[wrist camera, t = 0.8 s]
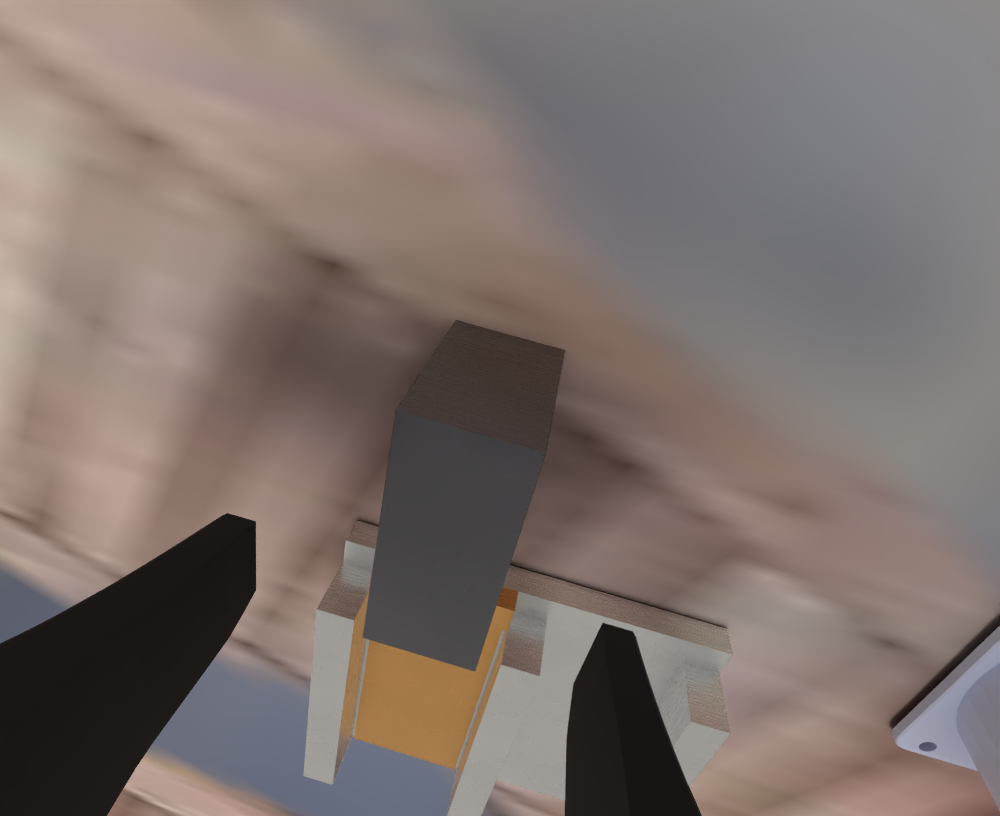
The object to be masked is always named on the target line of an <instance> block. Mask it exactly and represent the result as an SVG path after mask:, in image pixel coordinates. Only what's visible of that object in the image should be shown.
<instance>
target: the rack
mask: <svg viewBox="0 0 1000 816" xmlns="http://www.w3.org/2000/svg"><path fill="white" fill-rule="evenodd" d="M378 528H379V526H375V525H372V524H368V523H365V522H362V521H358V520H357V522H356V524H355V526H354V527H353V529H352V531H351V532H350V534H349V536H348V537H347V539H346V542H345V552H344V561H343V564H342V565H341V567H340V569H339V571H338V572H337V574H336V576H335V578H334V579H333V581H332V583H331V585H330V586H329V588H328V590H327V592H326V593H325V595H324V597H323V599H322V600H321V602H320V604H319V606H318V608H317V610H316V623H315V635H314V648H313V661H312V674H311V686H310V699H309V712H308V725H307V726H308V727H307V738H306V750H305V763H304V776H305V777H309V778H312V779H315V780H318V781H321V782H325V783H328V784H331V785H333V783H334V780H335V778H336V775H337V773H338V770H339V768H340V765H341V763H342V760H343V758H344V756H345V753H346V750H347V748H348V746H349V743H350V740H351V738H352V736H353V735H354V738H355V739H358V740H361V741H365V742H368V743H371V744H374V745H378V746H381V747H384V748H387V749H391V750H394V751H397V752H400V753H403V754H407V755H410V756H413V757H416V758H420V759H423V760H426V761H429V762H433V763H436V764H439V765H442V766H446V767H449V768H452V769H455V767H457V772H456V776H455V781H454V785H453V789H452V794H451V798H450V802H449V807H448V811H447V816H481V815H482V812H483V810H484V807H485V805H486V803H487V800H488V798H489V796H490V793H491V791H492V788H493V786H494V784H495V781H496V780H499V781H503V782H506V783H509V784H512V785H516V786H519V787H522V788H525V789H529V790H532V791H535V792H538V793H542V794H545V795H548V796H551V797H555V798H558V799H561V800H564V801H565V780H566V740H567V730H568V721H569V713H570V705H571V698H572V690H573V683H574V681H575V679H576V677H577V675H578V673H579V671H580V669H581V667H582V665H583V663H584V660H585V658H586V656H587V654H588V652H589V650H590V648H591V646H592V644H593V642H594V640H595V637H596V635H597V633H598V631H599V629H600V627H601V625H602V623H606V624H609V625H613V626H616V627H620V628H623V629H626V630H630V631H633V633H634V634H635V636H636V638H637V642H638V645H639V649H640V652H641V656H642V659H643V662H644V665H645V669H646V672H647V675H648V678H649V681H650V684H651V687H652V690H653V693H654V696H655V699H656V702H657V705H658V708H659V711H660V713H661V716H662V719H663V722H664V724H665V727H666V730H667V732H668V735H669V737H670V740H671V743H672V745H673V748H674V751H675V753H676V756H677V758H678V761H679V763H680V766H681V768H682V771H683V773H684V776H685V778H686V781H687V783H688V785H689V786H690V785H691V784H692V782H693V781H694V780H695V778H696V777H697V776H698V775H699V773H700V772H701V771H702V769H703V768H704V767H705V766H706V764H707V763H708V762H709V760H710V759H711V758H712V757H713V755H714V754H715V753H716V751H717V750H718V749H719V747H720V746H721V745H722V744H723V742H724V741H725V740H726V738H727V737H728V736H729V735H730V729H729V724H728V718H727V712H726V707H725V701H724V696H723V690H722V685H721V679H720V672H721V671H722V669H723V668H724V666H725V665H726V663H727V662H728V661H729V659H730V658H731V656H732V655H733V654H732V649H731V645H730V640H729V635H728V630H727V629H726V628H723V627H719V626H716V625H713V624H709V623H706V622H702V621H699V620H696V619H692V618H689V617H685V616H682V615H679V614H675V613H672V612H668V611H665V610H662V609H658V608H655V607H651V606H648V605H644V604H641V603H638V602H634V601H631V600H627V599H624V598H621V597H617V596H614V595H610V594H607V593H604V592H600V591H597V590H593V589H590V588H587V587H583V586H580V585H576V584H573V583H570V582H566V581H563V580H559V579H556V578H552V577H549V576H546V575H542V574H539V573H535V572H532V571H529V570H525V569H522V568H518V567H515V566H512V565H510V566H509V569H508V572H507V575H506V578H505V581H504V584H503V587H502V591H501V594H500V597H499V600H498V603H497V606H496V609H495V612H494V615H493V618H492V622H491V625H490V628H489V631H488V634H487V637H486V640H485V643H484V646H483V649H482V652H481V656H480V659H479V662H478V665H477V668H476V671H475V672H474V671H471V670H468V669H465V668H461V667H458V666H455V665H451V664H448V663H445V662H441V661H438V660H435V659H431V658H428V657H425V656H421V655H418V654H415V653H411V652H408V651H405V650H402V649H398V648H395V647H392V646H388V645H385V644H382V643H378V642H375V641H372V640H368V639H365V638H362V637H363V631H364V624H365V617H366V610H367V603H368V596H369V590H370V583H371V576H372V569H373V562H374V555H375V549H376V542H377V535H378Z"/></svg>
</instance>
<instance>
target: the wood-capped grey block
mask: <svg viewBox="0 0 1000 816" xmlns="http://www.w3.org/2000/svg"><path fill="white" fill-rule="evenodd" d="M564 353H565V350H562V349H558V348H555V347H551V346H547V345H544V344H540V343H537V342H533V341H529V340H526V339H522V338H519V337H515V336H511V335H508V334H504V333H501V332H497V331H493V330H490V329H486V328H482V327H479V326H475V325H472V324H468V323H464V322H461V321H457V320H456V321H455V323H454V324H453V326H452V327H451V329H450V330H449V332H448V333H447V335H446V336H445V338H444V339H443V341H442V342H441V344H440V345H439V346H438V348H437V349H436V351H435V352H434V354H433V355H432V357H431V358H430V360H429V361H428V363H427V364H426V366H425V367H424V369H423V370H422V372H421V373H420V375H419V376H418V378H417V379H416V381H415V382H414V384H413V385H412V387H411V388H410V390H409V391H408V393H407V394H406V396H405V397H404V399H403V400H402V402H401V403H400V405H399V406H398V408H397V409H396V412H395V419H394V426H393V432H392V439H391V446H390V453H389V460H388V467H387V473H386V480H385V487H384V494H383V501H382V508H381V514H380V521H379V528H378V535H377V542H376V549H375V555H374V562H373V569H372V576H371V583H370V590H369V596H368V603H367V610H366V617H365V624H364V631H363V637H362V638H365V639H368V640H372V641H375V642H378V643H382V644H385V645H388V646H392V647H395V648H398V649H402V650H405V651H408V652H411V653H415V654H418V655H421V656H425V657H428V658H431V659H435V660H438V661H441V662H445V663H448V664H451V665H455V666H458V667H461V668H465V669H468V670H471V671H474V672H475V671H476V668H477V665H478V662H479V659H480V656H481V652H482V649H483V646H484V643H485V640H486V637H487V634H488V631H489V628H490V625H491V622H492V618H493V615H494V612H495V609H496V606H497V603H498V600H499V597H500V594H501V591H502V587H503V584H504V581H505V578H506V575H507V572H508V569H509V566H510V563H511V560H512V556H513V553H514V550H515V547H516V544H517V541H518V538H519V535H520V532H521V529H522V526H523V522H524V519H525V516H526V513H527V510H528V507H529V504H530V501H531V498H532V495H533V491H534V488H535V485H536V482H537V479H538V476H539V473H540V470H541V467H542V464H543V460H544V457H545V454H546V450H547V445H548V439H549V434H550V428H551V423H552V418H553V412H554V407H555V401H556V396H557V391H558V385H559V380H560V374H561V369H562V364H563V358H564Z"/></svg>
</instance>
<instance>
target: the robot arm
mask: <svg viewBox="0 0 1000 816" xmlns="http://www.w3.org/2000/svg"><path fill="white" fill-rule="evenodd" d="M255 591H256V521H252V520H249V519H245V518H242V517H238V516H235V515H232V514H228V513H227V514H225V515H223V516H221V517H219V518H218V519H216V520H215V521H213V522H211V523H210V524H208V525H207V526H205V527H204V528H202V529H200V530H199V531H197V532H196V533H194V534H193V535H191V536H190V537H188V538H186V539H185V540H183V541H182V542H180V543H179V544H177V545H175V546H174V547H172V548H171V549H169V550H167V551H166V552H164V553H163V554H161V555H160V556H158V557H156V558H155V559H153V560H151V561H150V562H148V563H146V564H145V565H143V566H142V567H140V568H138V569H137V570H135V571H133V572H132V573H130V574H128V575H127V576H125V577H123V578H122V579H120V580H118V581H117V582H115V583H113V584H112V585H110V586H108V587H106V588H105V589H103V590H101V591H99V592H98V593H96V594H94V595H92V596H90V597H89V598H87V599H85V600H83V601H81V602H80V603H78V604H76V605H74V606H72V607H71V608H69V609H67V610H65V611H63V612H62V613H60V614H58V615H56V616H54V617H52V618H50V619H48V620H46V621H44V622H43V623H41V624H39V625H37V626H35V627H33V628H31V629H29V630H27V631H25V632H23V633H21V634H19V635H17V636H15V637H13V638H11V639H9V640H7V641H5V642H2V643H1V644H0V816H107V814H108V813H109V811H110V809H111V808H112V806H113V805H114V803H115V801H116V800H117V798H118V796H119V795H120V793H121V791H122V790H123V788H124V786H125V785H126V783H127V782H128V780H129V778H130V777H131V775H132V773H133V772H134V770H135V768H136V767H137V765H138V764H139V762H140V761H141V759H142V758H143V756H144V755H145V754H146V752H147V751H148V749H149V748H150V746H151V745H152V743H153V742H154V740H155V739H156V738H157V736H158V735H159V733H160V732H161V731H162V729H163V728H164V726H165V725H166V724H167V722H168V721H169V720H170V718H171V717H172V715H173V714H174V713H175V711H176V710H177V709H178V707H179V706H180V705H181V703H182V702H183V701H184V699H185V698H186V696H187V695H188V694H189V692H190V691H191V690H192V688H193V687H194V686H195V684H196V683H197V681H198V680H199V679H200V677H201V676H202V675H203V673H204V672H205V670H206V669H207V668H208V666H209V665H210V663H211V662H212V661H213V659H214V658H215V657H216V655H217V654H218V652H219V651H220V650H221V648H222V647H223V645H224V644H225V643H226V641H227V640H228V638H229V637H230V635H231V633H232V632H233V630H234V628H235V627H236V625H237V623H238V621H239V620H240V618H241V616H242V614H243V613H244V611H245V609H246V607H247V605H248V604H249V602H250V600H251V598H252V596H253V594H254V593H255ZM892 736H893V738H894V740H895V743H896V744H897V745H898V746H899V747H901V748H903V749H905V750H908V751H912V752H915V753H919V754H922V755H925V756H929V757H932V758H935V759H939V760H942V761H945V762H949V763H952V764H955V765H959V766H962V767H965V768H969V769H972V770H976V771H979V773H980V775H981V777H982V779H983V781H984V783H985V785H986V787H987V788H988V790H989V792H990V794H991V796H992V798H993V800H994V802H995V803H996V805H997V807H998V809H999V811H1000V626H999V627H998V628H997V629H996V630H995V631H993V632H992V633H991V634H990V635H989V636H988V637H987V638H986V639H985V640H984V641H983V642H982V643H981V644H980V645H979V646H978V647H977V648H976V649H975V650H974V651H973V652H972V653H971V654H970V655H969V656H968V657H967V658H966V659H964V660H963V661H962V662H961V663H960V664H959V665H958V666H957V667H956V668H955V669H954V670H953V671H952V672H951V673H950V674H949V675H948V676H947V677H946V678H945V679H944V680H943V681H942V682H941V683H940V684H939V685H938V686H937V687H935V688H934V689H933V690H932V691H931V692H930V693H929V694H928V695H927V696H926V697H925V698H924V699H923V700H922V701H921V702H920V703H919V704H918V705H917V706H916V707H915V708H914V709H913V710H912V711H911V712H910V713H909V714H908V715H907V716H905V717H904V718H903V719H902V720H901V721H900V722H899V723H898V724H897V725H896V726H895V727H894V728H893V730H892ZM565 816H702V815H701V813H700V811H699V808H698V806H697V804H696V801H695V799H694V797H693V794H692V792H691V790H690V788H689V785H688V783H687V781H686V778H685V776H684V773H683V771H682V768H681V766H680V763H679V761H678V758H677V756H676V753H675V751H674V748H673V745H672V743H671V740H670V737H669V735H668V732H667V730H666V727H665V724H664V722H663V719H662V716H661V713H660V711H659V708H658V705H657V702H656V699H655V696H654V693H653V690H652V687H651V684H650V681H649V678H648V675H647V672H646V669H645V665H644V662H643V659H642V656H641V652H640V649H639V645H638V642H637V638H636V636H635V634H634V633H633V631H630V630H626V629H623V628H620V627H616V626H613V625H609V624H606V623H602V625H601V627H600V629H599V631H598V633H597V635H596V637H595V640H594V642H593V644H592V646H591V648H590V650H589V652H588V654H587V656H586V658H585V660H584V663H583V665H582V667H581V669H580V671H579V673H578V675H577V677H576V679H575V681H574V683H573V690H572V698H571V705H570V713H569V721H568V730H567V740H566V780H565Z"/></svg>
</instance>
